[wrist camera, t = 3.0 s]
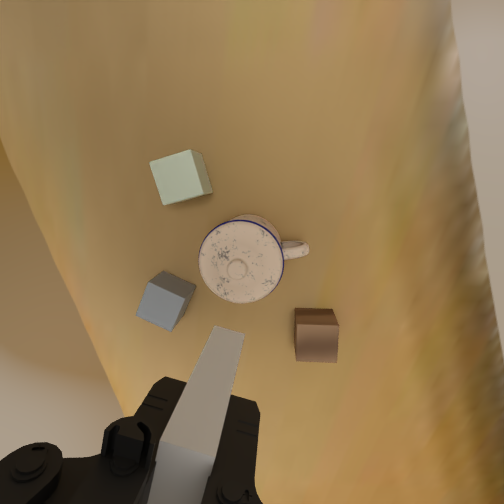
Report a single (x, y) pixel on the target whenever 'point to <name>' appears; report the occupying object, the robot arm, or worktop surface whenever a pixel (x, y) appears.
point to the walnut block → (316, 335)
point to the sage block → (181, 177)
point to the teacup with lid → (245, 258)
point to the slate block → (165, 300)
